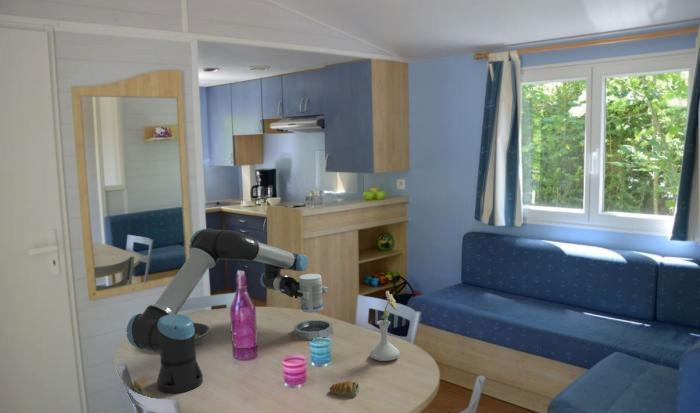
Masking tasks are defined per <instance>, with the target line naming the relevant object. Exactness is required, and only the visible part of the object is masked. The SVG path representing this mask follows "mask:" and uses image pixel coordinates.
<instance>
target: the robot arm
mask: <svg viewBox="0 0 700 413" xmlns="http://www.w3.org/2000/svg"><path fill="white" fill-rule="evenodd" d="M189 243H190V244H189V245H188V246H189V250H188V253H189V256H188V258H187V259H186V261H185V262H184V263H183V265H182V266H181V268H180V269H179V270H178V271H177V273H176V274H175V276H174V277H173V278H172V280H171V281H170V283H169V284H168V285H167V286H166V288H165V290H164V291H163V292H162V294H161V295H160V296H159V298H158V299H157V300H156V302H155V303H154V304H150V305H148V306H147V307H146V308H145V310H144V311H143V312H142V313H137V314H135V315H133V316H132V317H131V318H130V319H129V321H128V322H127V326H126V330H125V331H126V338H127V340H128V342H129V343H130V345H131V346H133V347H136V348H138V349H140V350H147V351H151V352H156V353H159V354H160V368H159V372H158V377H157V380H156V386H157V390H158V391H160V392H162V393H166V394H178V393H180V394H181V393H184V392H188V391H189V392H190V391H191V390H194V389H196V388H198V387H200V386H201V385H202V383H203V382H204V378H203V372H202V369H201V367H200V365H199V363H198V361H197V354H196V353H197V352H196V351H197V350H196V346H195V337H196V336H195V335H196V333H195V329H194V325H193V323H194V321H193V319H192V318H191V317H189V316H187V315H185V314H179V311H180V310H181V309H182V307H183V306H184V304H185V303H186V301H188V298H189V297H190V296H191V294H192V293H193V292H194V290H195V289H196V287H197V285H198V284H199V282H200V281H201V280H202V278H203V277H204V275H205V274H206V272H207V271H208V269H212V268H214V267H215V266H216V265H217V263H218V262H219V260H223V261H224V260H225V261H245V262H252V261H255V262H259V263H262V264H263V273H262V274H261V275H260V279H259V282H260V285H261V286H262V287H264V288H266V289H267V290H272V291H276V292H279V293H281V294H284V295H286V296H288V297H290V298H294V299H298V297H299V298H300V297H301V298H305V299H309V292H305V291H301V290H300V285H299V281H297V279H296V278H295V277H291V276H287V275H283V274H282V273H281V272H282V271H281V270H286V271H287V270H288V271H295V272H304V271H306V270H307V267H308V263H309V259H308V256H307V255H305V254H302V253H295V252H290V251H288V250H284V249H281V248H279V247H277V246H272V245H269V244H266V243H263V242H259V241H258V239H256V238H255V237H252V236H248V235H246V234H243V233H241V232H238V231H234V230H231V229H230V230H229V229H226V230H225V229H214V228H202V229H198V230H197V231H195V232H194V233H193V235H192V236H191V238H190V240H189ZM322 292H323V294H325V295H328V294H329V287H327V286H323V285H322Z"/></svg>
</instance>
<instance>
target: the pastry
mask: <svg viewBox="0 0 700 413" xmlns="http://www.w3.org/2000/svg"><path fill="white" fill-rule="evenodd" d="M329 391H330V393H331V394H333V395H337V396H338V397H339V396H340V397H349V398H354V397H357V396H358V394H359V393H358V392H359V391H360V386H359V383H358V381H348V380H346V381H341V382H337V383H333V384H332V385H331V387H329Z"/></svg>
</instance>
